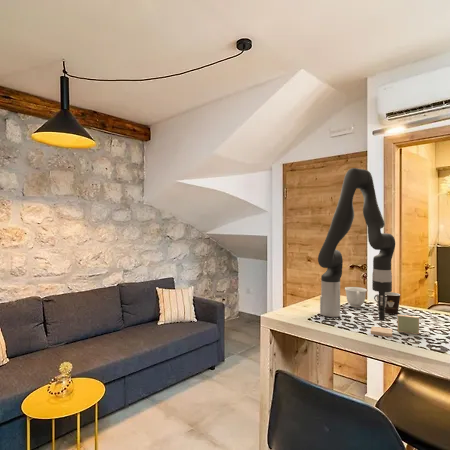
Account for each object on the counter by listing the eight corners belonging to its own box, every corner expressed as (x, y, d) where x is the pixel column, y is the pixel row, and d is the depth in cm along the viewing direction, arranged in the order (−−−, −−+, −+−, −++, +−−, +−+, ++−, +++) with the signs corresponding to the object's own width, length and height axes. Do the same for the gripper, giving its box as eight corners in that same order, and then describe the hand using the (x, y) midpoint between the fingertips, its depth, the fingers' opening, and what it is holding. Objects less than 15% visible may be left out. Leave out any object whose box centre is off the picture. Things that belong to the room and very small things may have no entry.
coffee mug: (403, 313, 168) (403, 294, 168) (395, 316, 163) (395, 296, 163) (381, 308, 177) (381, 290, 177) (373, 310, 172) (373, 292, 172)
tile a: (371, 330, 142) (370, 334, 136) (371, 326, 142) (370, 330, 136) (392, 332, 138) (392, 337, 132) (392, 329, 138) (392, 333, 132)
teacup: (346, 309, 174) (346, 291, 174) (342, 303, 189) (342, 286, 189) (370, 311, 172) (370, 292, 172) (364, 304, 186) (365, 287, 186)
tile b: (397, 331, 139) (397, 315, 139) (397, 330, 141) (397, 314, 141) (419, 334, 136) (419, 317, 136) (418, 333, 137) (418, 316, 137)
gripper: (373, 277, 146) (373, 315, 146) (371, 281, 134) (371, 323, 134) (391, 278, 143) (391, 317, 142) (391, 282, 131) (391, 325, 131)
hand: (381, 320), depth 138 cm, fingers closed
